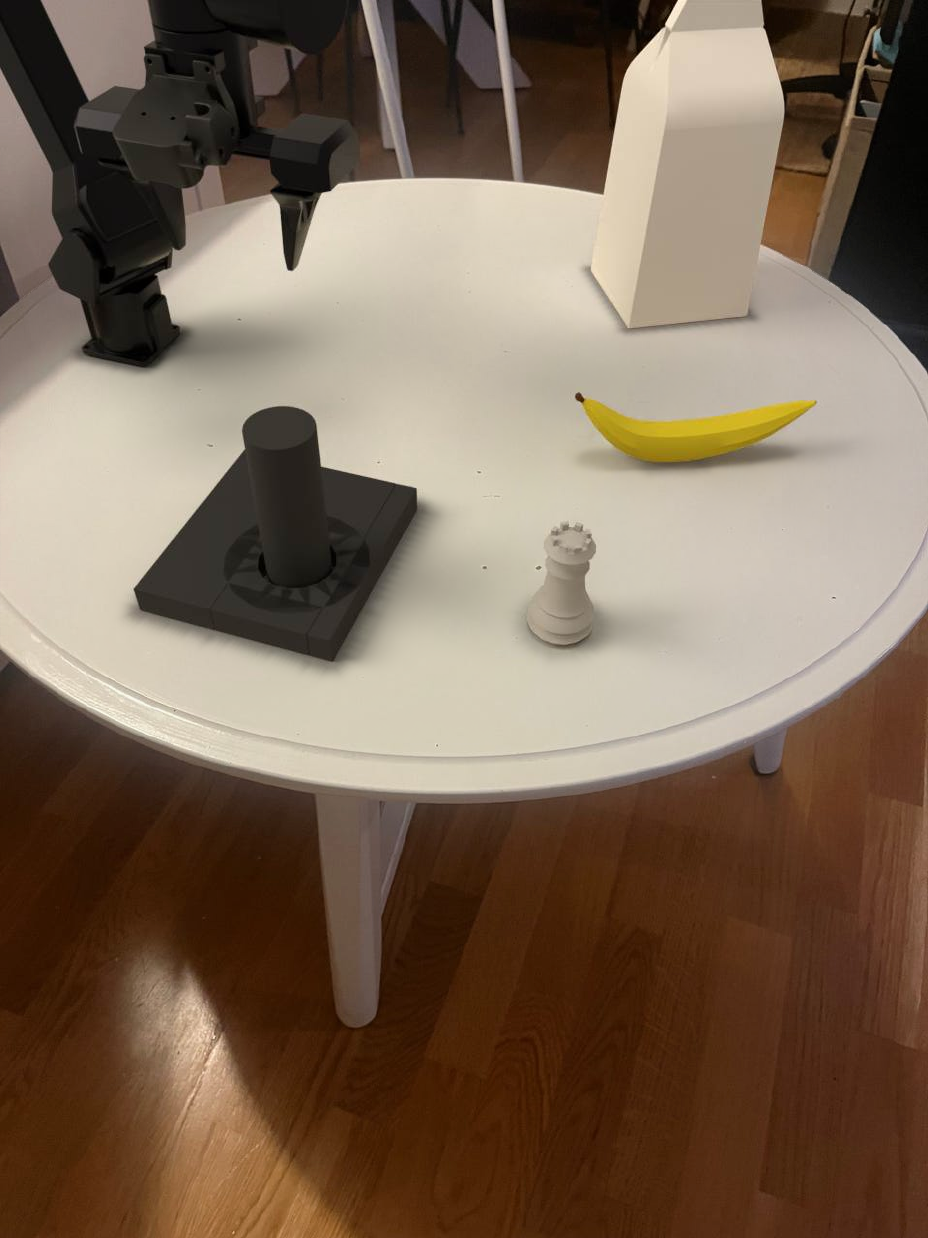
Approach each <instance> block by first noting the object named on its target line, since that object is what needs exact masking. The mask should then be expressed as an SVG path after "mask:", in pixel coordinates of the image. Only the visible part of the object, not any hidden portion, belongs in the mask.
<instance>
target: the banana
mask: <svg viewBox="0 0 928 1238" xmlns="http://www.w3.org/2000/svg"><path fill="white" fill-rule="evenodd" d="M574 398H575V400H576V401H577V402H579V403H580V404H581V406H582V408H583V411H584V413H585V414H586V416H587V417H588V419H589V421H590V422H591V424H592V425H593V426H594V427H595V428H596V429H597V431H598V432H599V433H600V434H601V435H602V437H604V439H605V440H606V441H607V442H608V443H609V444H611V445H612V446H613V447H614V448H616V449H617V450H619V451H620V452H621V453H623V454H625V455H627V456H629V457H633V458H635V459H637V460H640V461H641V460H642V461H647V462H652V463H679V462H680V463H681V462H689V461H690V462H691V461H696V460H702V459H707V458H712V457H715V456H719V455H723V454H727V453H732V452H734V451H737V450H741V449H743V448H746V447H749V446H752V445H755V444H756V443H758V442H759V443H760V442H761V441H762V440H765V439H767V438H769V437H771V436H772V435H774V434H776V433H778V432H779V431H780V430H781V431H782V429H783V428H785V427H787V426H788V425H790V424H791V423H794V421H796V420H798V418H800V417H801V416H803V415H804V414H805V413H807V412H808V411H809V410H811V409H812V408H813V407H815V406H816V404H817V400H814V399H812V400H804V399H803V400H802V399H801V400H800V399H799V400H795V401H789V402H782V403H776V404H772V405H771V404H770V405H767V406H762V407H761V406H760V407H757V408H752V409H747V410H743V411H742V410H741V411H738V412H733V413H727V414H721V415H714V416H708V417H706V416H705V417H699V418H691V419H679V420H678V419H677V420H645V419H644V420H643V419H637V418H632V417H629V416H627V415H624V414H621V413H620V412H618V411H616V410H614V409H613V408H611V407H609V406H607V405H606V404H605V403H602V402H600V401H597V400H596V399H592V398H586V397H584V396H583V394H582V393H581V392H579V391H578V392H576V393H575V395H574Z"/></svg>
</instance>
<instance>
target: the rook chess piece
mask: <svg viewBox="0 0 928 1238" xmlns="http://www.w3.org/2000/svg"><path fill="white" fill-rule="evenodd" d="M569 525H570V523H569V520H567V521H560V525H559V526H557V525H554V526H553V528H552V529H551V530H550V533H548V535H547V536H546V537H545V539H544V540H543V549H544V551H545V553H546V557H545V561H544V562H545V564H544V565H545V567H546V570H547V572H546V575H545V578H544V581H543V584H542V585H541V586H540V588H539V589H538V590H537V591H536V592H535V593H534V595H533V596H532V597H531V599H530V601H529V606H528V610H527V616H526V622H527V624H528V627H529V628H530V630H531V631H532V632H533V633H534V634H535V635H536V636H537V637H538V638H540V640H542V641H544V642H545V643H549V644H551V645H557V646H566V645H567V646H568V645H573V644H575V643H578V642H579V641H581V640H582V639H585V638H586V637H588V636H589V634H590V633H591V632H592V630H593V628H594V614H595V613H594V612H595V608H594V604H593V602H592V599H591V598H590V596H589V594H588V592H587V590H586V575H587V574H588V573H589V571H590V569H591V568H590V567H591V562H590V560H592V559H593V558H594V556H595V555H596V553H597V544H596V543H595V540H594V539H593V537H592V535H593V533H592V532H591V530H590V528H587V529H585V530H584V524H583V523H580V522H578V521H575V524H574V526H569Z"/></svg>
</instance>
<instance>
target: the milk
mask: <svg viewBox="0 0 928 1238" xmlns="http://www.w3.org/2000/svg"><path fill="white" fill-rule="evenodd" d="M762 4H763V3H762V0H677V1H676V3H675V5H674V6H673V9H672V11H671V13H670V14H669V16H668V18H667V20H666V22H665V24H664V25H665V26H664V27H662V28H661V29H660V31H659V32H657V34H655V36H654V37H653V38H652V39H651V40H650V41H649V42H648V43H647V45H645V47H644V48H643V49H642V50H641V51H640V52H639V53H638V55H636V57H635V58H633V60H632V61H631V63H630V64H629V66H628V68H627V69H626V72H625V74H624V77H623V80H622V85H621V90H620V95H619V96H620V97H619V102H618V108H617V113H616V120H615V125H614V131H613V137H612V143H611V149H610V155H609V160H608V167H607V171H606V178H605V184H604V190H603V195H602V202H601V206H600V207H601V208H600V214H599V219H598V223H597V224H598V225H597V231H596V236H595V242H594V248H593V254H592V259H591V266H590V272H591V273H592V275H593V276H594V279H596V281H597V283H598V285H600V287H601V289H602V290H603V292H604V293H605V295H606V296H607V298H608V299H609V301H610V302H611V304H612V305H613V307H614V308H615V310H616V312H617V313H618V315H619V316H620V318H621V320H622V321H623V322H624V324H625V325H626V327H627V329H637V328H647V327H655V326H657V327H658V326H665V325H676V324H684V323H695V322H702V321H703V322H704V321H714V320H723V319H731V318H732V319H733V318H744V317H748V313H749V309H750V303H751V297H752V291H753V286H754V281H755V275H756V271H757V270H756V269H757V265H758V261H759V255H760V254H759V253H760V248H761V244H762V238H763V234H764V227H765V223H766V216H767V212H768V211H767V210H768V207H769V202H770V201H769V200H770V196H771V190H772V184H773V179H774V174H775V168H776V164H777V158H778V152H779V147H780V141H781V137H782V130H783V125H784V119H785V100H784V93H783V88H782V84H781V81H780V77H779V73H778V70H777V67H776V63H775V60H774V56H773V52H772V49H771V46H770V43H769V38H768V35H767V32H766V29H765V28H764V26H765V21H764V13H763V5H762Z"/></svg>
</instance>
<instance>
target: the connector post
mask: <svg viewBox="0 0 928 1238" xmlns="http://www.w3.org/2000/svg"><path fill="white" fill-rule="evenodd" d="M317 425H318V424H317V421H316V419H315V417H313V415H312V414H311V413H310V412H308V411H306V410H304V409H301V408H300V407H295V406H290V405H289V406H288V405H278V406H277V405H276V406H270V407H266V408H263V409H260V410H258V411H256V412H254V413H252V414H251V415H250V416H249V417H247V418H246V419H245V421H244V422H243V425H242V428H241V435H242V439H243V446H244V450H245V452H246V457H247V463H248V469H249V474H250V480H251V486H252V491H253V497H254V503H255V508H256V514H257V520H258V525H259V531H260V537H261V542H262V548H263V554H264V559H265V565H266V571H267V572H266V576H267V581H269V582H270V583H271V584H273V585H276V586H280V587H284V588H305V587H308V586H311V585H314V584H317V583H320V582H321V581H322V580H324V579H325V578H327V577H328V576H329V575H330V574H331V573H332V571H333V565H332V563H331V554H330V544H329V535H328V526H327V517H326V507H325V498H324V489H323V480H322V470H321V467H322V463H321V453H320V445H319V444H320V443H319V435H318V434H319V433H318V426H317Z"/></svg>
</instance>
